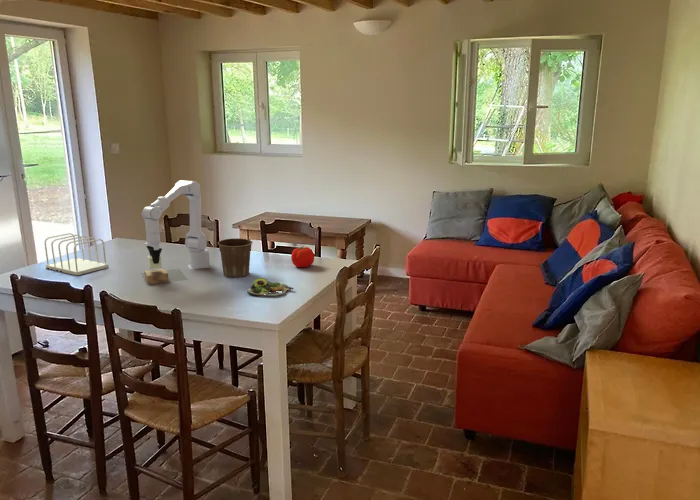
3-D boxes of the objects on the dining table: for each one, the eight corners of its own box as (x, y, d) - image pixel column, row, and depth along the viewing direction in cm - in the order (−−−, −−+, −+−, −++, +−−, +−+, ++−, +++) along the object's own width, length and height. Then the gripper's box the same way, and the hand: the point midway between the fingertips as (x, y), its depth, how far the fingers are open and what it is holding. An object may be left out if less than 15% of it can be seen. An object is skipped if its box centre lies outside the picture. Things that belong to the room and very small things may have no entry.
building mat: (179, 269, 275) (179, 268, 274) (187, 280, 257) (187, 279, 257) (140, 274, 266) (140, 273, 266) (147, 285, 249) (146, 284, 249)
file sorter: (109, 267, 277) (105, 237, 273) (77, 276, 262) (73, 244, 259) (77, 261, 289) (74, 231, 285) (45, 268, 275) (41, 238, 271)
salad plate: (298, 286, 250) (298, 276, 249) (287, 299, 233) (287, 289, 232) (257, 284, 253) (256, 274, 252) (243, 296, 236) (243, 286, 235)
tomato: (309, 262, 289) (309, 243, 286) (317, 268, 279) (317, 248, 276) (287, 265, 284) (287, 245, 281) (295, 270, 274) (295, 250, 271)
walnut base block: (165, 276, 262) (164, 268, 261) (168, 281, 254) (167, 273, 253) (145, 278, 258) (144, 270, 257) (147, 284, 250) (147, 275, 249)
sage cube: (148, 266, 255) (147, 255, 254) (159, 265, 257) (158, 254, 256) (150, 269, 251) (149, 258, 250) (161, 267, 253) (160, 257, 252)
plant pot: (260, 272, 270) (259, 240, 266) (239, 281, 256) (237, 247, 252) (234, 268, 278) (232, 236, 274) (212, 276, 264) (210, 243, 260)
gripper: (141, 230, 255) (143, 259, 258) (145, 237, 242) (148, 266, 246) (157, 229, 258) (159, 257, 261) (162, 235, 245) (164, 265, 249)
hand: (155, 262), depth 254 cm, fingers closed on sage cube, 5 cm apart
